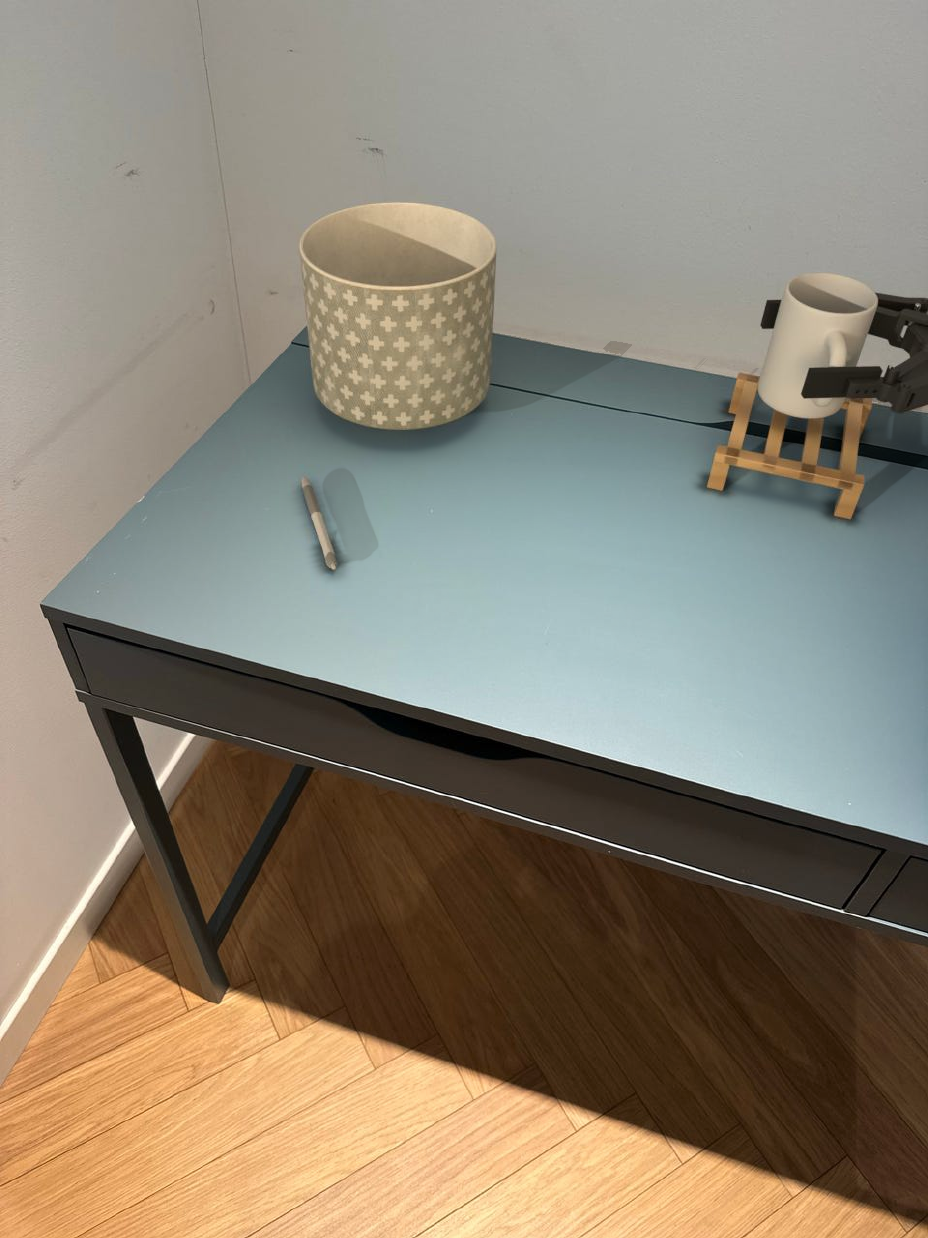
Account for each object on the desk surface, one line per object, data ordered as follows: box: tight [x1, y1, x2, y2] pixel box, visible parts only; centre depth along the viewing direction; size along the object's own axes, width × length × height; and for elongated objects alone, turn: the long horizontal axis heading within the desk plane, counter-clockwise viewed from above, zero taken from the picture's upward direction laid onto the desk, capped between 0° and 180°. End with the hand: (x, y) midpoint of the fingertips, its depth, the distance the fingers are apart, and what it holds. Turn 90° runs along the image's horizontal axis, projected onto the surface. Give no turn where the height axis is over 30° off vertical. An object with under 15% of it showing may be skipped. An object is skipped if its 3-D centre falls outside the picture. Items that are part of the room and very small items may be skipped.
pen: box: [301, 476, 338, 571], centre depth 90 cm, size 1×14×1 cm, turn 18°
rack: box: [706, 372, 874, 520], centre depth 99 cm, size 16×14×4 cm
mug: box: [757, 272, 878, 419], centre depth 92 cm, size 12×8×11 cm
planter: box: [298, 201, 498, 431], centre depth 99 cm, size 19×19×18 cm
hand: (784, 347), depth 91 cm, fingers closed on mug, 12 cm apart
